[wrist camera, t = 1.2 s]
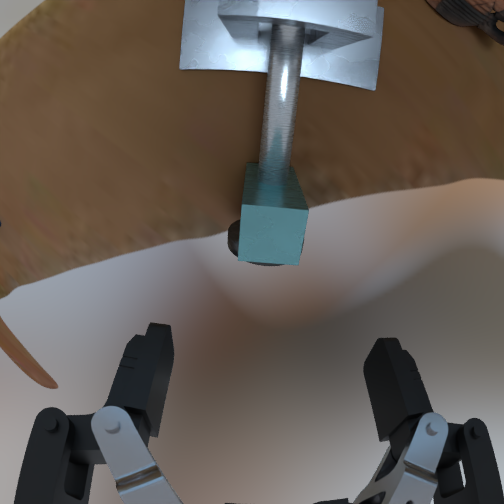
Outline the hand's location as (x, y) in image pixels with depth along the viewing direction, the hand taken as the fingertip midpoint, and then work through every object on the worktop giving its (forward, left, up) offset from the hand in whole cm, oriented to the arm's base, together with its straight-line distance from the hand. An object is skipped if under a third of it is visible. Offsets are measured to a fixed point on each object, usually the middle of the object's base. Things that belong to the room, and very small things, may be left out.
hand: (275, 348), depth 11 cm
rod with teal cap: (0, -7, -18) cm, 19 cm away
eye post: (0, -14, -18) cm, 23 cm away
